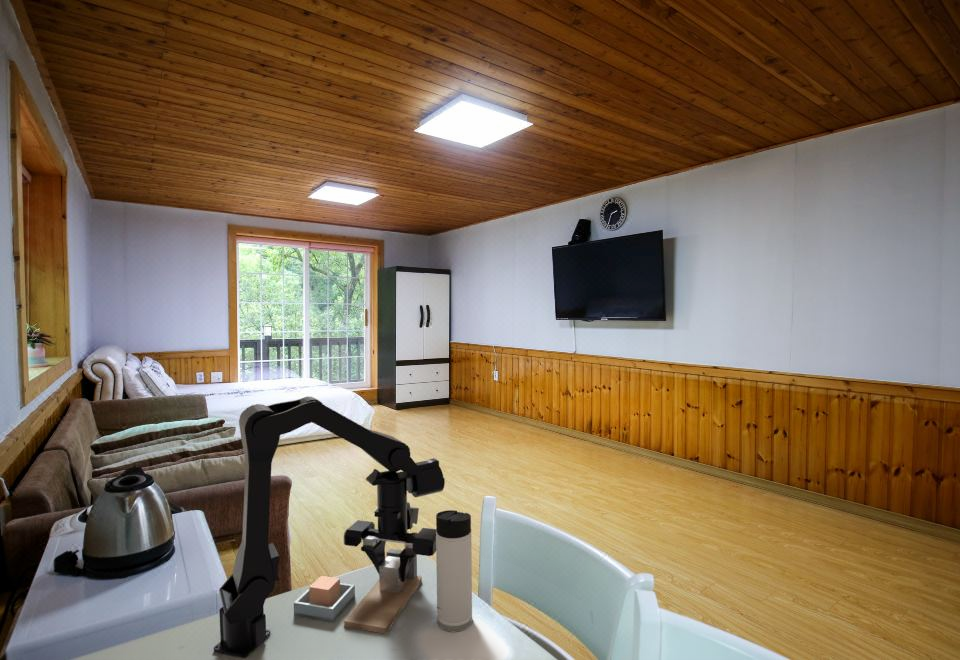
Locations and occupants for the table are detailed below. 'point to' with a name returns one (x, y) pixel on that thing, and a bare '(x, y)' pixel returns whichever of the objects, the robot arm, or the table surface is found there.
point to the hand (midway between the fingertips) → (393, 579)
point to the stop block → (325, 591)
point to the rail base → (383, 602)
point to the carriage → (391, 575)
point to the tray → (324, 612)
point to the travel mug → (454, 570)
